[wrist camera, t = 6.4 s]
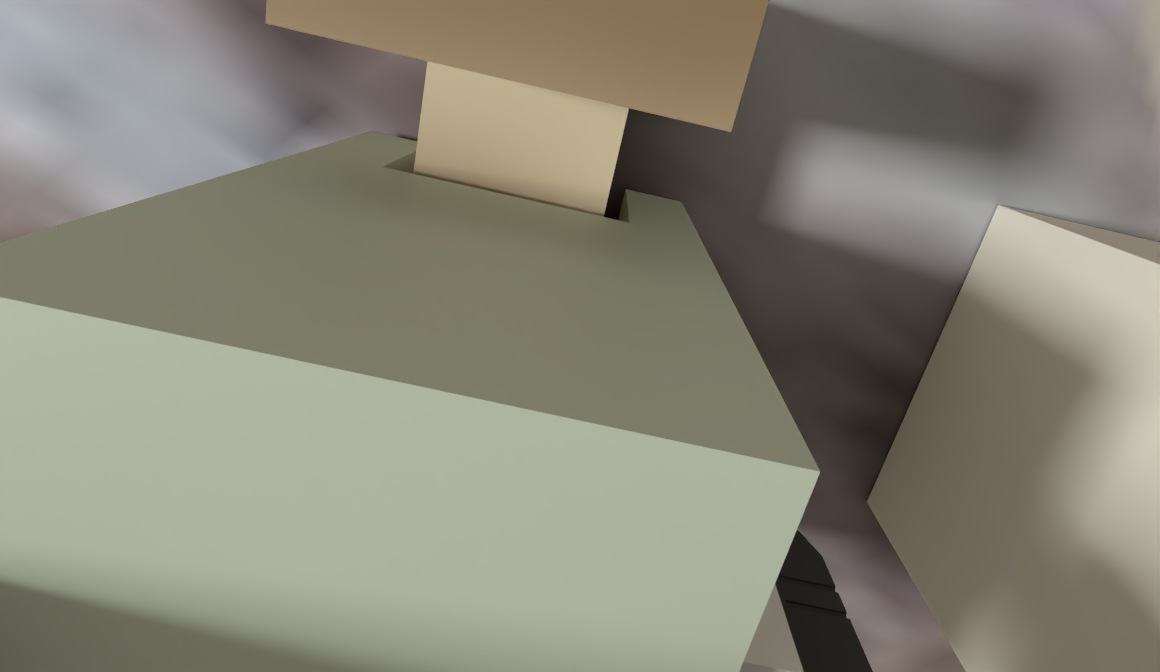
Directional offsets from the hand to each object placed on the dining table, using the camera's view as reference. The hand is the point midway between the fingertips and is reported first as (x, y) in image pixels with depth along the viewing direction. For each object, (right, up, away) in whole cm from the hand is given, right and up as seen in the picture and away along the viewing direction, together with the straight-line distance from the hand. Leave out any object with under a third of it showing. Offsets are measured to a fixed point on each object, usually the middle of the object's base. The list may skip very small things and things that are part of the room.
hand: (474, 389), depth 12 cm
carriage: (0, +1, +3) cm, 3 cm away
